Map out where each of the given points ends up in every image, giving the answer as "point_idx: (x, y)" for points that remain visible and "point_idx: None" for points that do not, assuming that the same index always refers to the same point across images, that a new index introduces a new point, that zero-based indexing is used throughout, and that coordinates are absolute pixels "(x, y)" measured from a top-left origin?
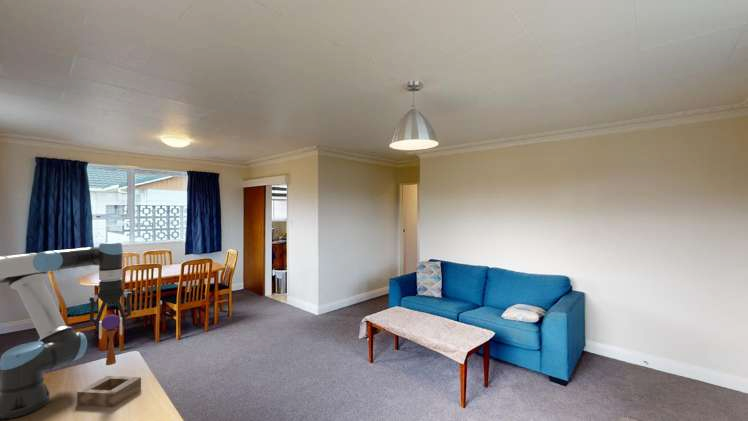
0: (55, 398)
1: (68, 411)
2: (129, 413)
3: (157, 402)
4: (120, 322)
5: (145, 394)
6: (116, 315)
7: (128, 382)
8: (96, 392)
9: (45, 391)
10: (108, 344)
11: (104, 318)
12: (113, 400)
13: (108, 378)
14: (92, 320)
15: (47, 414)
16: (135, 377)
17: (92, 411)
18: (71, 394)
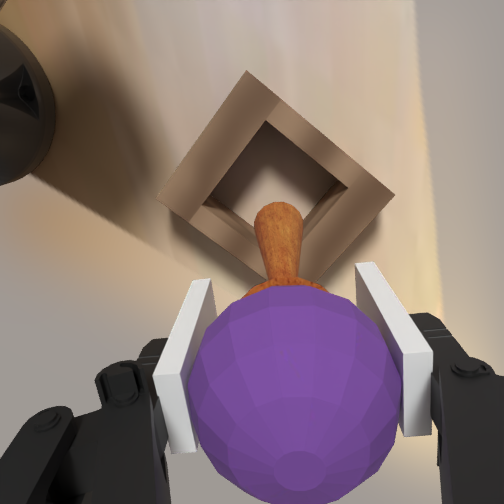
0: (65, 67)
1: (155, 229)
2: None
3: None
4: None
5: (393, 245)
6: (375, 449)
7: (344, 223)
8: (233, 252)
9: (19, 116)
10: (267, 274)
11: (219, 464)
12: None
13: (257, 115)
14: (83, 495)
15: (92, 211)
16: (372, 181)
17: (232, 275)
18: (117, 62)
